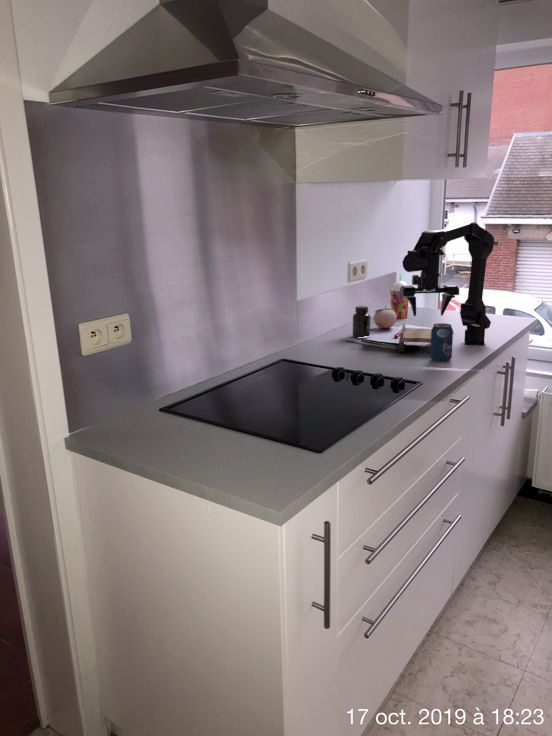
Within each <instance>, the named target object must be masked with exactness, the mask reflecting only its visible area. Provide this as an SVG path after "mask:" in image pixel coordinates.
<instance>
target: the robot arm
mask: <svg viewBox="0 0 552 736" xmlns="http://www.w3.org/2000/svg"><path fill="white" fill-rule="evenodd" d="M459 238H463V239H464V241H465V242H467V244H468V253H469V254H470V257H471V263H470V272H469V273H470V275H469V283H468V292H467V293H468V294H467V299H466V300H465V301H464V302H462V303H461V304H460V312H459V315H460V320H461V323H462V326H464V327H466V329H465V330H464V343H465V345H471V346H472V345H474V346H476V345H478V346H485V345H486V342H485V335H486V330H488V329H489V328H490V326H491V325H492V321H491V319H490V318H489V316H487V314H486V313H487V311H486V309H487V307H486V305H485V303H484V301H483V294H484V286H485V285H484V284H485V276H486V269H487V260H488V258H489V256H490V255H491V254H492V252H493V250H494V245H495V236H493V234H492V233H490V232H489V231H488V230H487V229H485V228H483V227H481V225H479V223H477V222H475V221H464V222H462V223H460V224H459V223H458V224H456V225H453V226H450V227H447V228H443V229H439V230H424V231H422V232H421V235H420V236H419V238H418V240H417V241H416V244H415V245H414V247H413V249H412V250H407V254H406V255H405V256H404V257H403V260H402V267H403V268H402V269H404V271H406V272H408V273H413V272H420V276H419V275H418V274H413V275H412V276H411V277H412V278H411V285H408V286H402V287H401V288H400V294H401V295H402V296H404V297H405V298H407V299H408V300H409V304H410V307H411V311H412V313H413V316H414V317H416V315H417V297H416V296H415V295H416V294H441V306H440V316H444V314H445V312H446V310H447V307H448V305H449V304H450V302H451V300H452V299H454V298H455V299H456V296H459V295H460V288H459V286H457V285H455V284H443V285H442V287H440V286H439V280H440V275H441V273H440V262H441V261H440V260H441V259H440V258H441V256H444V255H445V252H444V251H443V250H442V248H443V247H445V246H447V244H448V243H449V242H451V241H454V240H456V239H457V240H458V239H459Z"/></svg>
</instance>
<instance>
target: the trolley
mask: <svg viewBox="0 0 552 736" xmlns="http://www.w3.org/2000/svg"><path fill="white" fill-rule="evenodd" d="M431 330H432V328H422V327H421V328H420V327H419V328H417V327H416V328H415V327H414V328H413V327H412V328H411V327H406V324H405V323H403V324H402V326H401V330H400V333H399V340H398V352H399V353H400V352H401V353H403V352H404V353H405V344H404V342H406V343H422V344H423V343H427V344H428V343H429V344H431Z"/></svg>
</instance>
